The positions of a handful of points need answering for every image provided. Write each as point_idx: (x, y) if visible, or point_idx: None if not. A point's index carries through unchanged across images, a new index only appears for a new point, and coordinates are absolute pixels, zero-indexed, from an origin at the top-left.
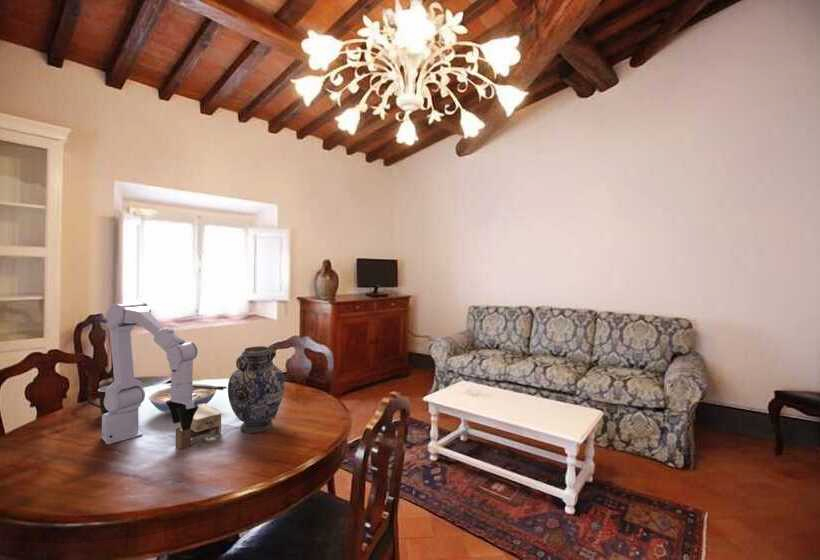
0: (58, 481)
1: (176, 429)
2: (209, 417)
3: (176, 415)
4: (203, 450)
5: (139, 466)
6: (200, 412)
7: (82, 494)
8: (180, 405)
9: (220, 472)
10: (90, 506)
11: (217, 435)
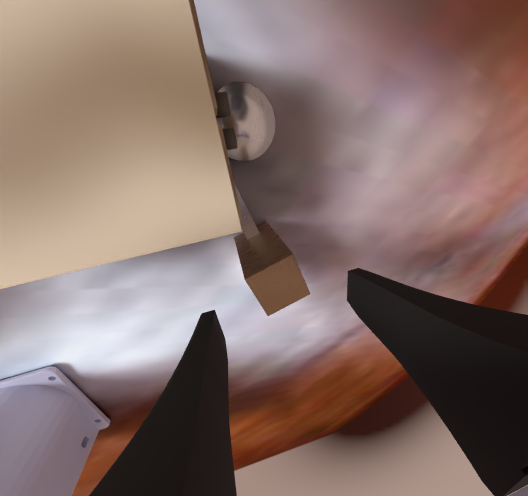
0: (276, 424)
1: (273, 312)
2: (214, 109)
3: (219, 373)
4: (332, 185)
5: (310, 334)
6: (24, 163)
7: (351, 385)
8: (210, 459)
9: (495, 170)
10: (396, 367)
11: (250, 91)
